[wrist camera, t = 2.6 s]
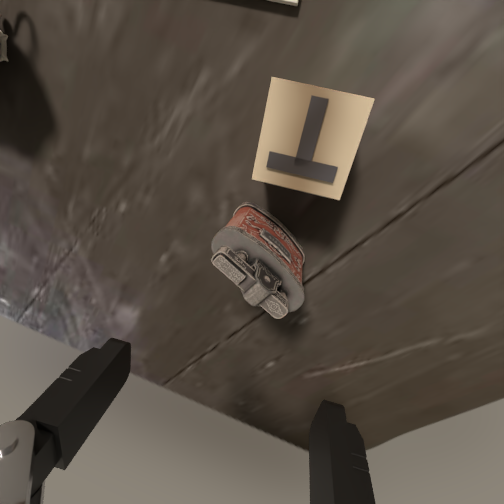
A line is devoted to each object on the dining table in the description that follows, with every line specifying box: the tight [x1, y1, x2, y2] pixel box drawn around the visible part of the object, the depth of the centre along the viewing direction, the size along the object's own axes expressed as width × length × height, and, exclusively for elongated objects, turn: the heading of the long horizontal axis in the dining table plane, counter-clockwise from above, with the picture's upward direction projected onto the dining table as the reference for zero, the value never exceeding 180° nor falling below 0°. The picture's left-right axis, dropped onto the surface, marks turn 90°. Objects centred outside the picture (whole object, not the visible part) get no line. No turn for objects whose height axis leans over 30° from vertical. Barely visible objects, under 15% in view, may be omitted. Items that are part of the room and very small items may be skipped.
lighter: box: [211, 202, 304, 319], centre depth 22 cm, size 8×3×10 cm, turn 48°
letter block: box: [252, 77, 375, 200], centre depth 20 cm, size 6×6×6 cm
